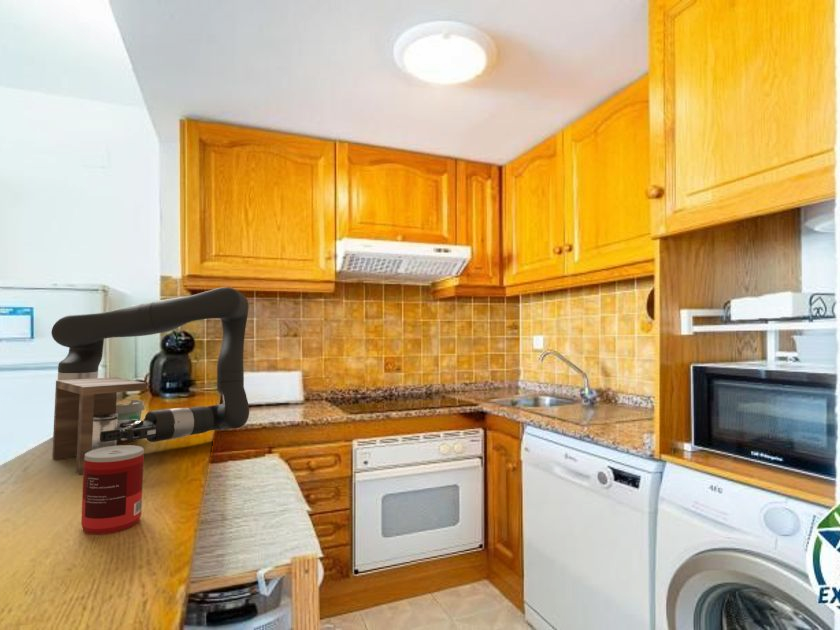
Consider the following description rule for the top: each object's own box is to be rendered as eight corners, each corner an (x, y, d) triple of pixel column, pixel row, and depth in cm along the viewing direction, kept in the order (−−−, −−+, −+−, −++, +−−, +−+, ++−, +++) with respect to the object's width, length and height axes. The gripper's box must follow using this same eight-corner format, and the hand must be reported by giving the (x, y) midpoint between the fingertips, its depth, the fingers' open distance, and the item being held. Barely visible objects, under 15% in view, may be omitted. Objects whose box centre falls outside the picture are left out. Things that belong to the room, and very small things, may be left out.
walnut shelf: (52, 458, 106) (55, 380, 106) (112, 449, 115) (115, 377, 116) (79, 474, 95) (83, 387, 95) (143, 462, 104) (146, 382, 105)
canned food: (130, 510, 76) (132, 442, 77) (149, 523, 71) (152, 450, 72) (73, 524, 70) (76, 451, 71) (90, 540, 65) (94, 460, 66)
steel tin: (85, 460, 105) (87, 415, 106) (111, 455, 109) (113, 412, 110) (93, 464, 102) (95, 418, 102) (119, 459, 106) (121, 415, 106)
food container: (124, 446, 118) (125, 406, 118) (100, 446, 118) (101, 406, 118) (153, 436, 130) (154, 399, 131) (131, 435, 130) (132, 399, 131)
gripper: (157, 405, 122) (83, 413, 109) (183, 412, 113) (106, 421, 100) (156, 435, 121) (81, 446, 108) (182, 443, 113) (104, 456, 100)
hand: (93, 434), depth 104 cm, fingers open, 8 cm apart
